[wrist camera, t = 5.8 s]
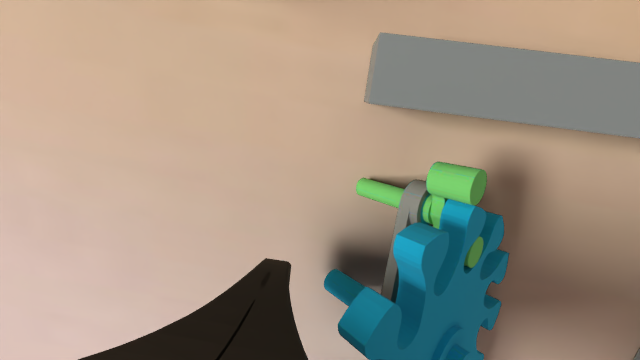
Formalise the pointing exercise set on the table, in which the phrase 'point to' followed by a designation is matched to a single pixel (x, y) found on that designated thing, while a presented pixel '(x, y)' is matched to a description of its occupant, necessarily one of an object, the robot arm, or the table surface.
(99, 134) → the table surface
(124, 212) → the table surface
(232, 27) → the table surface
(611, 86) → the gear frame
